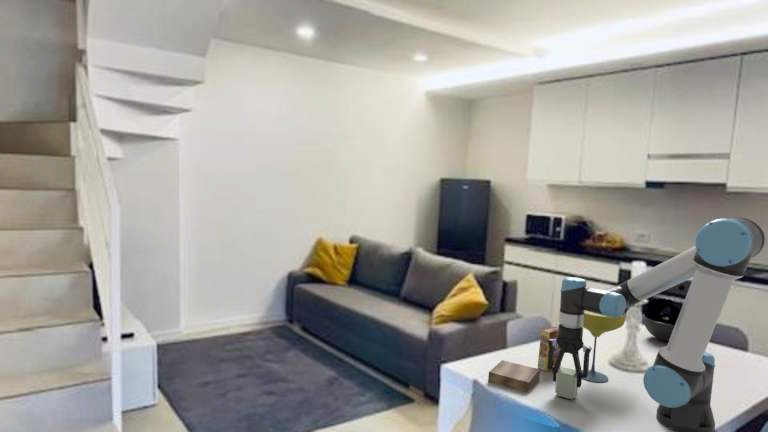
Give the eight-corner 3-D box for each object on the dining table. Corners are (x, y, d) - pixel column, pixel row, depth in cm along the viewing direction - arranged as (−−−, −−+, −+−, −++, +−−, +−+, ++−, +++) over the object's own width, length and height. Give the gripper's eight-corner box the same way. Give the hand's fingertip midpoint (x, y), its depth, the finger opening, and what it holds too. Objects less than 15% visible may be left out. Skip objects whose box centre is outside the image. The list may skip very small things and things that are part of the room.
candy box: (546, 372, 186) (549, 332, 185) (537, 368, 190) (540, 328, 188) (561, 367, 191) (564, 328, 190) (552, 363, 195) (555, 325, 193)
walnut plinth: (539, 380, 180) (540, 369, 180) (527, 393, 168) (528, 382, 168) (501, 370, 187) (502, 360, 187) (488, 383, 175) (488, 371, 175)
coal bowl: (652, 330, 244) (655, 292, 242) (697, 342, 229) (702, 302, 227) (633, 338, 231) (637, 298, 229) (680, 351, 216) (684, 308, 214)
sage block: (575, 393, 167) (577, 370, 166) (572, 399, 162) (573, 375, 162) (560, 389, 169) (561, 367, 169) (556, 395, 165) (557, 371, 165)
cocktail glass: (629, 387, 176) (635, 318, 173) (579, 386, 175) (584, 316, 172) (604, 367, 194) (609, 304, 191) (558, 366, 193) (563, 302, 190)
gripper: (602, 327, 162) (597, 397, 164) (546, 317, 172) (541, 382, 174) (598, 333, 156) (592, 405, 158) (539, 322, 166) (535, 390, 168)
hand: (566, 393), depth 166 cm, fingers closed on sage block, 5 cm apart
